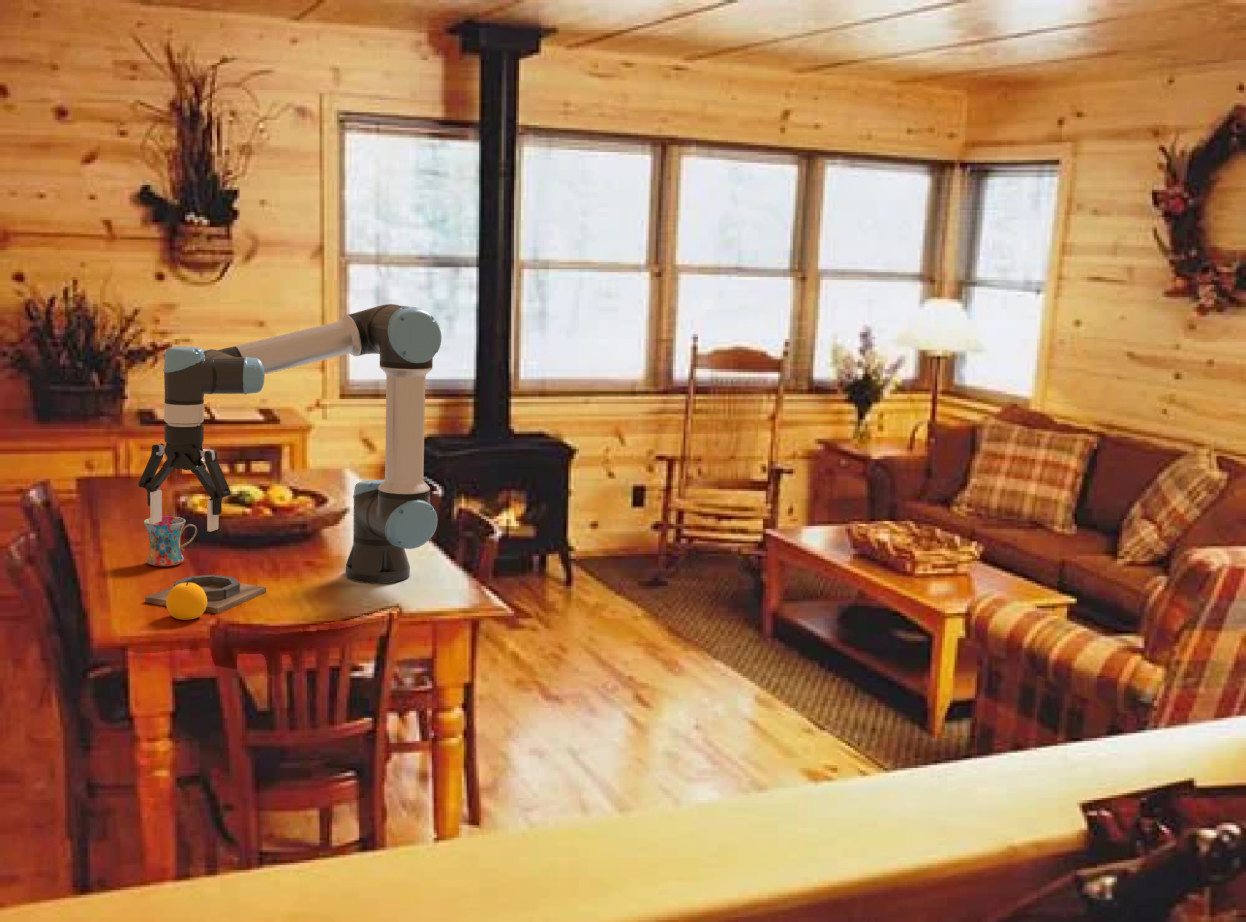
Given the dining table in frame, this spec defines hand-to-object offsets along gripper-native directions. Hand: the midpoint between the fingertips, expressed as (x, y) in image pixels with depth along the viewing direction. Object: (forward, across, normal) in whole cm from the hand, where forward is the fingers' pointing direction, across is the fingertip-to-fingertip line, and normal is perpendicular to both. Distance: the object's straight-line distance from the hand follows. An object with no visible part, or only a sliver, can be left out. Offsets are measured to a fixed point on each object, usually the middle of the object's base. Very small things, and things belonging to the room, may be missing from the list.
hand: (184, 526), depth 254 cm
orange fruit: (+19, -1, +1) cm, 19 cm away
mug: (+19, +28, -33) cm, 48 cm away
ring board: (+19, +4, -13) cm, 24 cm away
